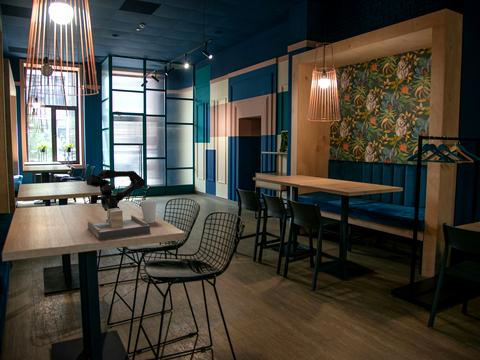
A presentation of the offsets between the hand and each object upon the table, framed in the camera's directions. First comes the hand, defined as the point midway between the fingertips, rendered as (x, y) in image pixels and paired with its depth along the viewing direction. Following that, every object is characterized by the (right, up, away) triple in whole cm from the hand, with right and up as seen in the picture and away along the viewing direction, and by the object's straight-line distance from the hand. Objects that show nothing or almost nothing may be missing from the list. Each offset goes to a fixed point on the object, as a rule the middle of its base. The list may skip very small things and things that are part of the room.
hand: (109, 208), depth 231 cm
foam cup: (+21, -9, +9) cm, 25 cm away
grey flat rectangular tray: (+9, -11, -12) cm, 19 cm away
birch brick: (+6, -9, -8) cm, 13 cm away
